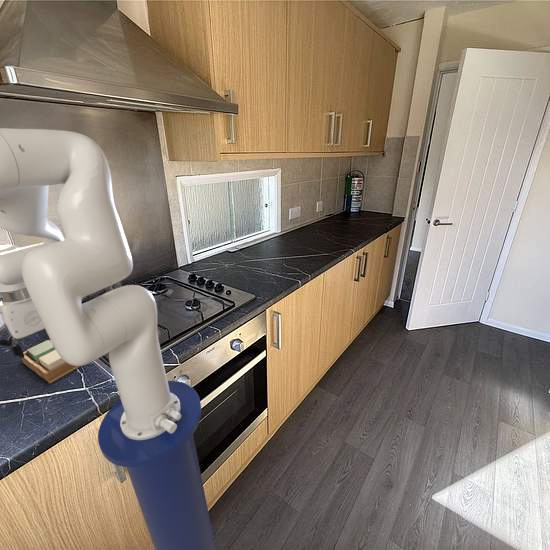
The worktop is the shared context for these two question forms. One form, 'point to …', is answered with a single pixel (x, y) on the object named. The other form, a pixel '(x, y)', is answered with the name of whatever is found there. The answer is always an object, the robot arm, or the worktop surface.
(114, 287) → the beer glass
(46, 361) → the pad
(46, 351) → the pad
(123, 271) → the robot arm
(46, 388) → the worktop surface
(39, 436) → the worktop surface
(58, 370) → the holder
